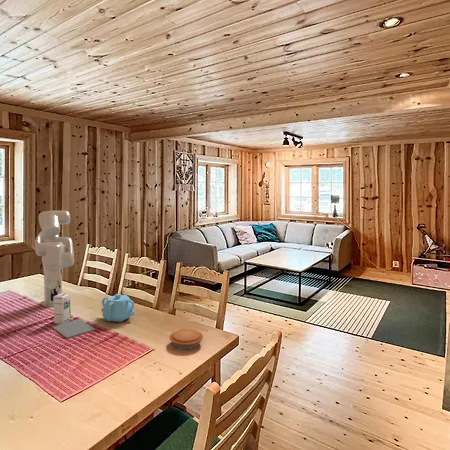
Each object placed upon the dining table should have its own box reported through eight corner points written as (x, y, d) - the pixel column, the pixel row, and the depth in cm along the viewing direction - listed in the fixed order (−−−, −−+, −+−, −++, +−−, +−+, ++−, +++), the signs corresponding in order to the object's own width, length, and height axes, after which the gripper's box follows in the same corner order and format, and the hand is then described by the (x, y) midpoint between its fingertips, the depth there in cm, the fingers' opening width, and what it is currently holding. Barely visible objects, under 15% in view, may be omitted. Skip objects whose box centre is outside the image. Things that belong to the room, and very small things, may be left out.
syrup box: (63, 324, 173) (63, 297, 171) (53, 323, 174) (53, 296, 172) (70, 320, 178) (70, 293, 177) (61, 319, 179) (60, 292, 178)
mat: (51, 327, 168) (51, 326, 168) (79, 320, 178) (79, 319, 178) (67, 338, 156) (67, 337, 156) (95, 330, 167) (95, 328, 167)
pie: (209, 346, 153) (209, 336, 153) (179, 355, 144) (179, 344, 144) (192, 334, 166) (192, 324, 165) (163, 341, 157) (163, 331, 156)
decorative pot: (136, 321, 179) (136, 297, 178) (104, 326, 172) (104, 300, 170) (130, 311, 193) (130, 288, 192) (100, 315, 186) (100, 291, 185)
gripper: (40, 265, 182) (41, 298, 183) (51, 270, 172) (52, 305, 173) (55, 264, 187) (55, 295, 189) (66, 268, 177) (67, 301, 179)
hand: (54, 300), depth 181 cm, fingers closed
